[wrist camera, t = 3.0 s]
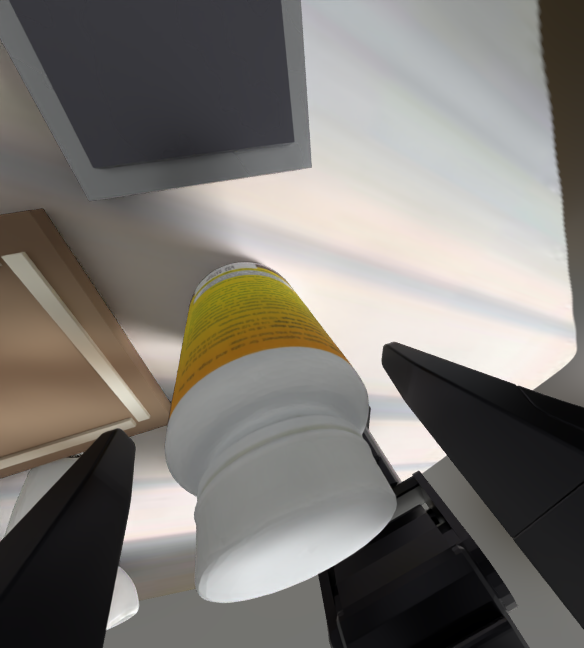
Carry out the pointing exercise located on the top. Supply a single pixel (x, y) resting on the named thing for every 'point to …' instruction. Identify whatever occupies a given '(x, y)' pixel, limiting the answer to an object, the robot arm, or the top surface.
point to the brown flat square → (61, 354)
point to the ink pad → (165, 88)
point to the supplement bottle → (269, 439)
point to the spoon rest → (32, 492)
